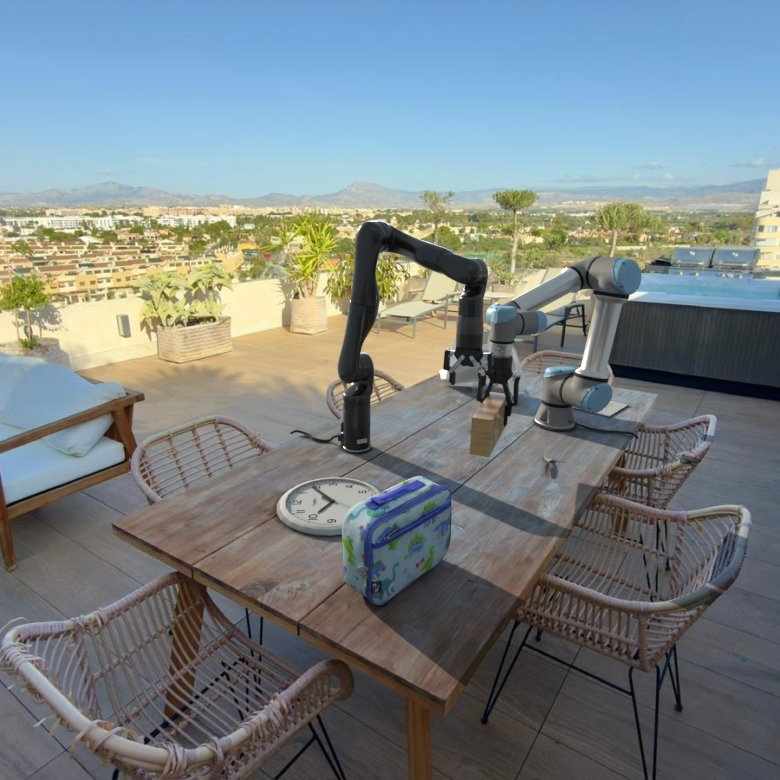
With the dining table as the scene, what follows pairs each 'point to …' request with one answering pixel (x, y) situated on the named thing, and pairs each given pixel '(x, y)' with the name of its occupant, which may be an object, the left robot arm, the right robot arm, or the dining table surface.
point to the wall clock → (322, 504)
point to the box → (488, 424)
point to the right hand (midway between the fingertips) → (495, 423)
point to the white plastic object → (471, 373)
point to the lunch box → (395, 537)
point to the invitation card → (611, 408)
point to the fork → (548, 460)
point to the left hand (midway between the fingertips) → (467, 386)
